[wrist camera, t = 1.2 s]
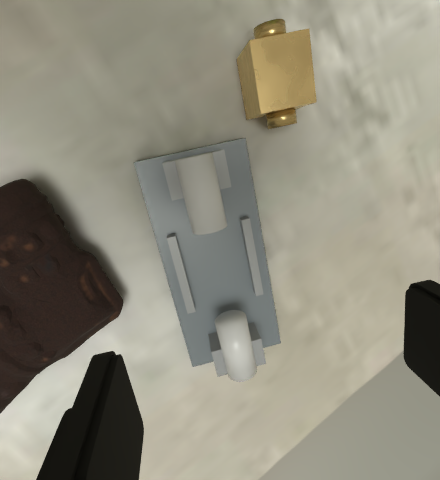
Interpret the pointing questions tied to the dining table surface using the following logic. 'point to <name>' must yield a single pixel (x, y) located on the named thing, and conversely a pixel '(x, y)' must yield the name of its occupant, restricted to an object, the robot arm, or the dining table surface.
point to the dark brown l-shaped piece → (44, 289)
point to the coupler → (276, 73)
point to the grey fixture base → (213, 254)
